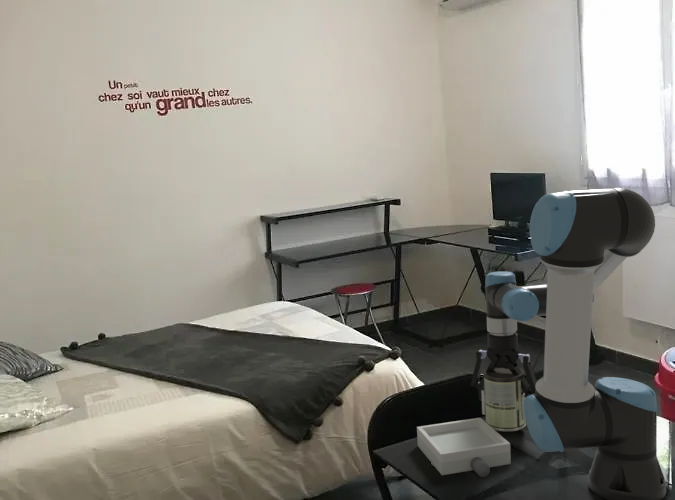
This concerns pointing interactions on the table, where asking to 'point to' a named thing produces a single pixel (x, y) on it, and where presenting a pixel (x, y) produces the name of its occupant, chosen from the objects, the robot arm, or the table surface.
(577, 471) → the table surface
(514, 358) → the robot arm
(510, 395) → the coffee can
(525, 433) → the table surface
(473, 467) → the white square tray
